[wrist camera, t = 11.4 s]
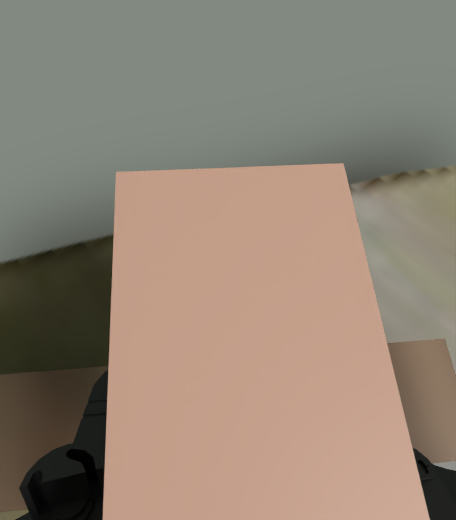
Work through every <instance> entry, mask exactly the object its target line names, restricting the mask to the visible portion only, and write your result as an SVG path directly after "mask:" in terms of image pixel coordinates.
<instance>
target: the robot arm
mask: <svg viewBox="0 0 456 520" xmlns="http://www.w3.org/2000/svg"><path fill="white" fill-rule="evenodd" d="M107 395H108V370H106V371H105V372H104V373H103V375H102V376H101V377H100V378H99V379H98V380H97V381H96V383H95V384H94V385H93V388H92V391H91V393H90V396H89V399H88V404H87V405H86V408H85V410H84V413H83V419H81V422H80V424H79V427H78V430H77V433H76V436H75V439H74V441H73V443H71V444H66V445H64V446H61V447H58V448H56V449H53V450H52V451H50V452H49V453H47V454H46V455H44V456H43V457H41V458H40V459H39V460H38V461H37V462H36V463H35V464H34V465H33V466H32V467H31V468H30V469H29V471H28V472H27V473H26V475H25V477H24V479H23V481H22V483H21V485H20V487H19V490H20V492H21V494H22V497H23V499H24V501H25V504H26V506H27V508H28V511H29V513H27V514H25V515H23V516H21V517H19V518H18V519H16V520H103V498H104V472H105V446H106V421H107ZM412 448H413V447H412ZM413 452H414V456H415V460H416V465H417V469H418V473H419V477H420V481H421V485H422V489H423V493H424V498H425V502H426V506H427V510H428V514H429V518H430V520H456V471H454V470H449V469H445V468H442V467H438V466H435V465H433V464H432V463H431V462H430V461H429V459H428V458H426V457H425V456H424V455H423V454H422V453H420V452H419V451H418V450H417V449H415V448H413Z"/></svg>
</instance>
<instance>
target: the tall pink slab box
mask: <svg viewBox="0 0 456 520" xmlns="http://www.w3.org/2000/svg"><path fill="white" fill-rule="evenodd" d="M103 520H430V518H429V514H428V510H427V506H426V502H425V498H424V493H423V489H422V485H421V481H420V477H419V473H418V469H417V465H416V460H415V456H414V452H413V448H412V444H411V440H410V436H409V432H408V428H407V423H406V419H405V415H404V411H403V407H402V403H401V399H400V395H399V390H398V386H397V382H396V378H395V374H394V370H393V366H392V362H391V357H390V353H389V349H388V345H387V341H386V337H385V333H384V329H383V325H382V320H381V316H380V312H379V308H378V304H377V300H376V296H375V292H374V287H373V283H372V279H371V275H370V271H369V267H368V263H367V259H366V255H365V250H364V246H363V242H362V238H361V234H360V230H359V226H358V222H357V217H356V213H355V209H354V205H353V201H352V197H351V193H350V189H349V185H348V181H347V176H346V172H345V168H344V164H343V163H340V164H314V165H288V166H262V167H237V168H236V167H235V168H209V169H182V170H156V171H132V172H131V171H130V172H116V189H115V216H114V240H113V266H112V292H111V317H110V343H109V369H108V395H107V421H106V446H105V472H104V498H103Z"/></svg>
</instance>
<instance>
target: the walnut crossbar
mask: <svg viewBox="0 0 456 520" xmlns="http://www.w3.org/2000/svg"><path fill="white" fill-rule="evenodd" d="M387 345H388V349H389V353H390V357H391V362H392V366H393V370H394V374H395V378H396V382H397V386H398V390H399V395H400V399H401V403H402V407H403V411H404V415H405V419H406V423H407V428H408V432H409V436H410V440H411V444H412V447H413V448H415V449H417V450H418V451H419V452H420V453H422V454H423V455H424V456H425V457H426V458H428V459H429V461H430V462H431V463H439V462H448V461H456V375H455V371H454V368H453V365H452V361H451V358H450V354H449V351H448V348H447V344H446V341H445V339H435V340H423V341H410V342H398V343H387ZM108 369H109V366H100V367H88V368H76V369H63V370H51V371H38V372H26V373H14V374H1V375H0V512H4V511H13V510H22V509H28V508H27V506H26V504H25V501H24V499H23V497H22V494H21V492H20V490H19V487H20V485H21V483H22V481H23V479H24V477H25V475H26V473H27V472H28V471H29V469H30V468H31V467H32V466H33V465H34V464H35V463H36V462H37V461H38V460H39V459H40V458H41V457H43V456H44V455H46V454H47V453H49V452H50V451H52V450H53V449H56V448H58V447H61V446H64V445H66V444H71V443H73V441H74V439H75V436H76V433H77V430H78V427H79V424H80V422H81V419H83V413H84V410H85V408H86V405H87V404H88V399H89V396H90V393H91V391H92V388H93V385H94V384H95V383H96V381H97V380H98V379H99V378H100V377H101V376H102V375H103V373H104V372H105V371H106V370H108Z"/></svg>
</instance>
